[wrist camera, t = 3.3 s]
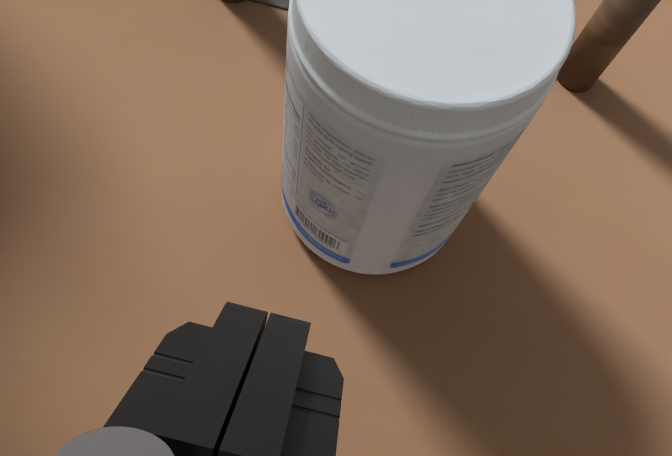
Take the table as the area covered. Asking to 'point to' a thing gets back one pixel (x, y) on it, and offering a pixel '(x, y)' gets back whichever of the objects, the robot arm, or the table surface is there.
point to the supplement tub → (406, 116)
